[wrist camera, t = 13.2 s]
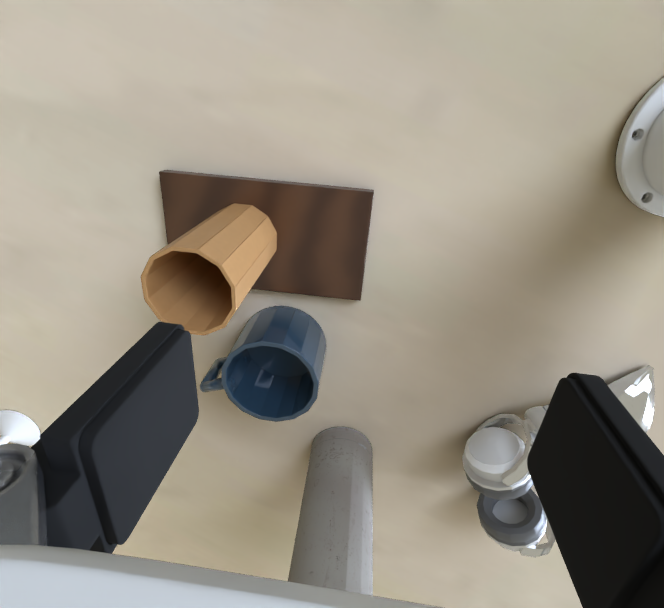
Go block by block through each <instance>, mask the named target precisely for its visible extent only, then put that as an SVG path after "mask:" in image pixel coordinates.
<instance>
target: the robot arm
mask: <svg viewBox="0 0 664 608" xmlns="http://www.w3.org/2000/svg"><path fill="white" fill-rule="evenodd" d="M633 132H634V135H633V136H632V133H633ZM616 172H617V178H618V181H619V184H620V186H621V188H622V191H623V192H624V194H625V195H626V196H627V197H628V199H629V200H630V201H631V202H632V203H634V204H635V205H636V206H638V207H639V208H640V209H642V210H645V211H647V212H649V213H652V214H655V215H658V216H661V217H664V77H663V78H662V79H661V80H660V81H659V82H658V83H657V84H655V85H654V86H653V87H652V88H651V89H650V90H649V91H648V92H647V93H646V95H645V96H644V97H643V98H642V99H641V101H640V102H639V103H638V104H637V105H636V107H635V108H634V110H633V112H632V113H631V115H630V117H629V118H628V120H627V121H626V124H625V126H624V129H623V131H622V133H621V136H620V139H619V143H618V147H617V151H616ZM642 196H643V197H642ZM198 414H199V407H198V398H197V389H196V380H195V371H194V362H193V353H192V343H191V335H190V333H189V331H185V329H184V327H183V326H182V325H181V324H174V323H165V322H158V323H157V324H155V325H154V326H153V327H152V328H151V329H150V330H149V331H148V332H147V333H146V334H145V335H144V336H143V337H142V338H141V339H140V340H139V341H138V342H137V343H136V344H135V345H134V346H132V347H131V348H130V349H129V350H128V351H127V352H126V353H125V354H124V355H123V356H122V357H121V358H120V359H119V360H118V361H117V362H116V363H115V364H114V365H113V366H112V367H111V368H110V369H109V370H108V371H106V372H105V373H104V374H103V375H102V376H101V377H100V378H99V379H98V380H97V381H96V382H95V383H94V384H93V385H92V386H91V387H90V388H89V389H88V390H87V391H86V392H85V393H84V394H83V395H82V396H80V397H79V398H78V399H77V400H76V401H75V402H74V403H73V404H72V405H71V406H70V407H69V408H68V409H67V410H66V411H65V412H64V413H63V414H62V415H61V416H60V417H59V418H58V419H57V420H55V421H54V422H53V423H52V424H51V425H50V426H49V427H48V428H47V429H46V430H45V431H44V432H43V433H42V434H41V435H40V439H39V440H38V441H37V442H36V443H35V444H34V445H33V446H32V447H31V448H30V447H28V446H26V445H22V444H3V445H0V608H443V607H437V606H431V605H425V604H419V603H414V602H408V601H402V600H396V599H390V598H384V597H378V596H372V595H366V594H360V593H354V592H348V591H342V590H336V589H330V588H324V587H318V586H312V585H306V584H300V583H294V582H288V581H282V580H276V579H270V578H264V577H257V576H251V575H245V574H239V573H233V572H227V571H220V570H214V569H208V568H202V567H196V566H189V565H183V564H177V563H171V562H165V561H159V560H152V559H145V558H138V557H131V556H124V555H117V554H112V552H113V551H114V549H115V547H116V546H117V544H119V545H122V544H123V543H124V542H125V541H126V540H127V539H128V537H129V536H130V534H131V532H132V531H133V529H134V527H135V526H136V524H137V522H138V521H139V519H140V517H141V515H142V514H143V512H144V510H145V509H146V507H147V505H148V504H149V502H150V500H151V499H152V497H153V495H154V493H155V492H156V490H157V488H158V487H159V485H160V483H161V482H162V480H163V478H164V476H165V475H166V473H167V471H168V470H169V468H170V466H171V465H172V463H173V461H174V459H175V458H176V456H177V454H178V453H179V451H180V449H181V448H182V446H183V444H184V443H185V441H186V439H187V437H188V436H189V434H190V432H191V431H192V429H193V427H194V426H195V424H196V422H197V419H198ZM527 467H528V471H529V474H530V476H531V479H532V481H533V484H534V486H535V489H536V491H537V494H538V496H539V499H540V501H541V504H542V506H543V509H544V511H545V514H546V516H547V519H548V521H549V524H550V526H551V529H552V531H553V534H554V537H555V539H556V542H557V544H558V547H559V549H560V552H561V554H562V557H563V559H564V562H565V564H566V567H567V569H568V572H569V574H570V577H571V579H572V582H573V584H574V587H575V589H576V592H577V594H578V597H579V599H580V602H581V604H582V607H583V608H664V455H663V454H662V453H661V452H660V450H659V449H658V448H657V447H656V445H655V444H654V443H653V442H652V440H651V439H650V438H649V437H648V435H647V434H646V433H645V432H644V430H643V429H642V428H641V427H640V425H639V424H638V423H637V422H636V420H635V419H634V418H633V417H632V415H631V414H630V413H629V412H628V410H627V409H626V408H625V407H624V405H623V404H622V403H621V402H620V401H619V399H618V398H617V397H616V396H615V394H614V393H613V392H612V391H611V389H610V388H609V387H608V386H607V384H606V383H605V382H604V381H603V379H602V378H600V377H599V376H595V375H587V374H579V373H571V374H569V375H568V376H567V378H562V379H561V380H560V381H559V383H558V385H557V387H556V390H555V392H554V395H553V397H552V399H551V402H550V404H549V407H548V409H547V411H546V414H545V416H544V418H543V421H542V423H541V426H540V428H539V430H538V433H537V435H536V438H535V440H534V442H533V445H532V447H531V449H530V452H529V454H528V458H527Z"/></svg>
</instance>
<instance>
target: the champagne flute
mask: <svg viewBox="0 0 664 608" xmlns="http://www.w3.org/2000/svg"><path fill="white" fill-rule="evenodd" d="M0 435H1V436H2V437H1V438H0V445H3V444H7V443H8V442H12V443H16V444H22V445H26V446H30V445H34V444H35V443H36V442H37V441H38V440H39V439H40V435H41V434H40V430H39V428H38V427H37V425H36V424H35V423H34V422H33V421H32V420H31V419H30V418H28V417H27V416H25V415H23V414H21V413H19V412H16V411H12V410H3V411H0Z"/></svg>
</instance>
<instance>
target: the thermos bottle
mask: <svg viewBox="0 0 664 608" xmlns="http://www.w3.org/2000/svg"><path fill="white" fill-rule="evenodd" d="M288 582H294V583H300V584H306V585H312V586H318V587H324V588H330V589H336V590H342V591H348V592H354V593H360V594H366V595H372V446H371V443H370V442H369V440H368V439H367V438H366V437H365V436H364V435H363V434H362V433H360V432H358V431H356V430H354V429H351V428H346V427H333V428H329V429H326V430H324V431H322V432H320V433H319V434H318V435H317V436H316V437H315V439H314V441H313V443H312V448H311V453H310V459H309V466H308V472H307V477H306V482H305V488H304V493H303V499H302V505H301V511H300V516H299V522H298V528H297V533H296V538H295V544H294V550H293V555H292V561H291V566H290V572H289V578H288Z"/></svg>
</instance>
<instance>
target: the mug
mask: <svg viewBox="0 0 664 608" xmlns="http://www.w3.org/2000/svg"><path fill="white" fill-rule="evenodd" d="M325 352H326V339H325V335H324V333H323V331H322V329H321V327H320V326H319V324H318V323H317V322H316V321H315V320H314V319H313V318H312V317H311V316H309V315H308V314H306V313H305V312H303V311H301V310H299V309H296V308H293V307H288V306H273V307H269V308H265V309H263V310H261V311H259V312H257V313H256V314H255V315H254V316H252V318H251V319H250V320H249V321H248V322H247V324H246V326H245V328H244V329H243V331H242V333H241V334H240V336H239V338H238V340H237V341H236V343H235V345H234V346H233V348H232V350H231V352H230V353H229V355H228V357H224V358H219V359H216V360H215V362H214V363H213V365H212V366H211V368H210V370H209V371H208V373H207V374H206V376H205V378H204V379H203V381H202V382H201V384H200V390H201V391H202V392H210V391H216V390H222V389H224V390H225V392H226V394H227V396H228V398H229V399H230V400H231V401H232V402H233V403H234V404H235V405H236V406H237V407H238V408H239V409H240V410H241V411H243V412H245V413H247V414H249V415H251V416H253V417H256V418H258V419H262V420H269V421H275V422H278V421H284V420H291V419H295V418H296V417H298V416H300V415H302V414H304V413H305V412H307V411H308V410H309V409H310V407H311V406H312V405H313V403H314V402H315V401H316V399H317V396H318V390H319V385H320V380H321V375H322V369H323V364H324V359H325ZM221 371H222V378H218V376H219V374H220V372H221Z"/></svg>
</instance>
